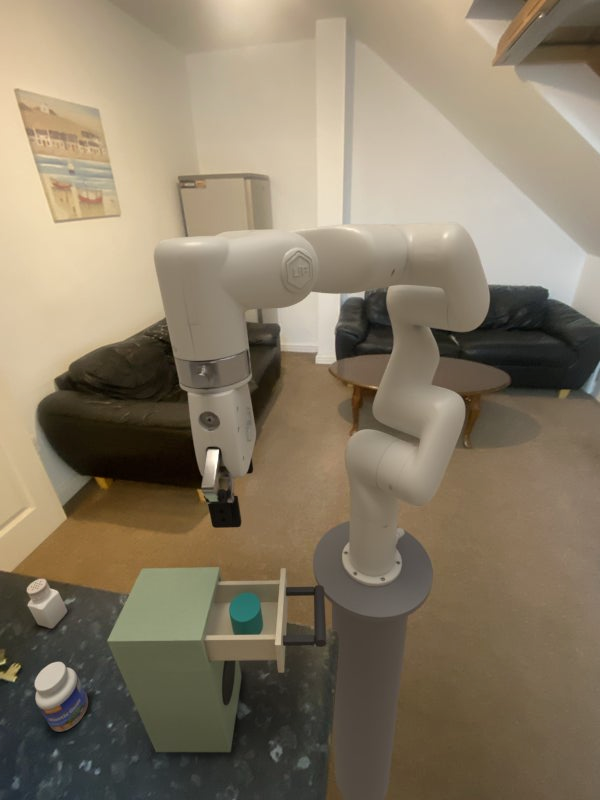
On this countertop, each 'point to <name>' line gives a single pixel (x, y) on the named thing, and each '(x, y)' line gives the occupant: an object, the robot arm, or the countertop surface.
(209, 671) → the green cabinet
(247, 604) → the pod
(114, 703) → the countertop surface
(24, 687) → the countertop surface
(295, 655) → the countertop surface
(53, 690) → the pill bottle
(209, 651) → the drawer
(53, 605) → the salt shaker
